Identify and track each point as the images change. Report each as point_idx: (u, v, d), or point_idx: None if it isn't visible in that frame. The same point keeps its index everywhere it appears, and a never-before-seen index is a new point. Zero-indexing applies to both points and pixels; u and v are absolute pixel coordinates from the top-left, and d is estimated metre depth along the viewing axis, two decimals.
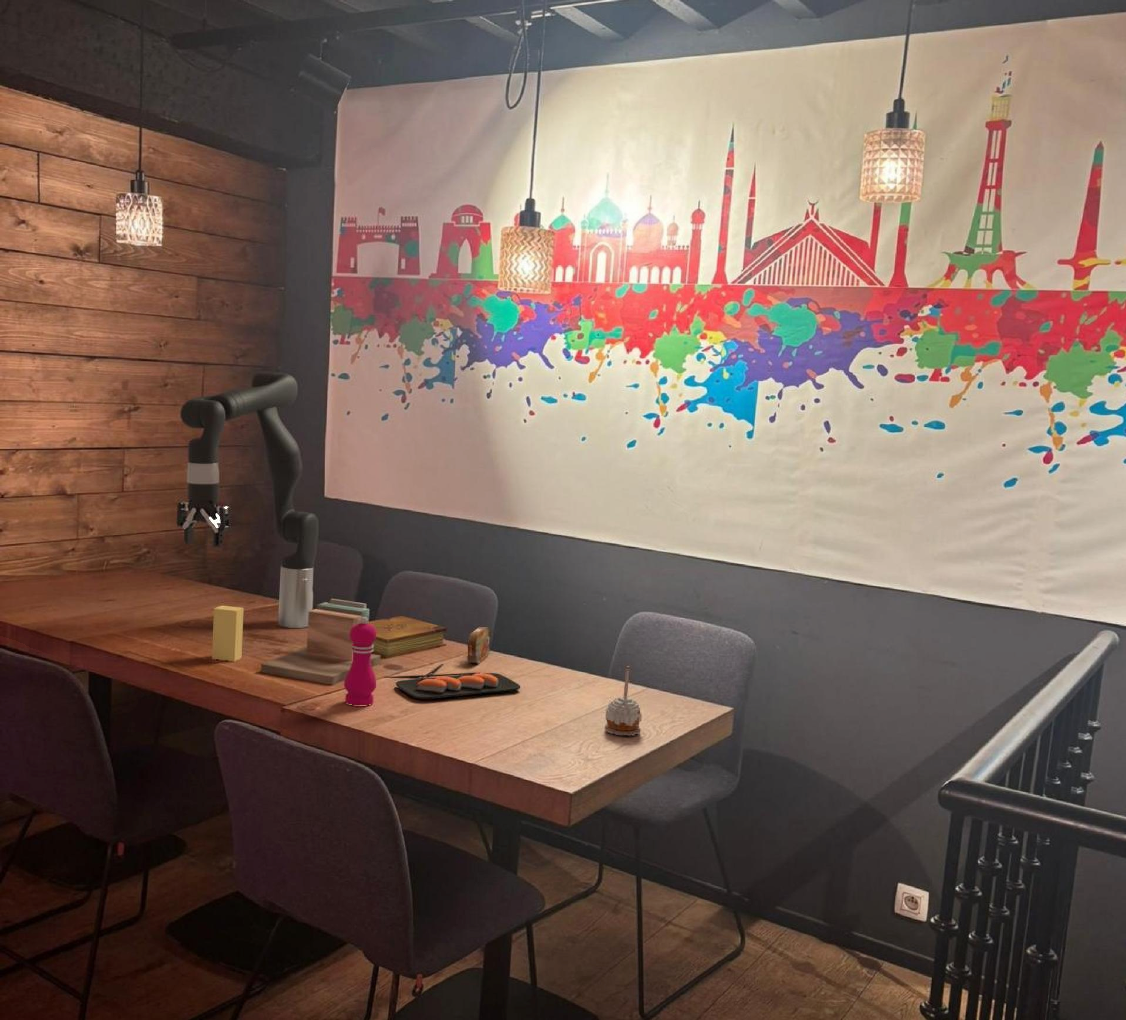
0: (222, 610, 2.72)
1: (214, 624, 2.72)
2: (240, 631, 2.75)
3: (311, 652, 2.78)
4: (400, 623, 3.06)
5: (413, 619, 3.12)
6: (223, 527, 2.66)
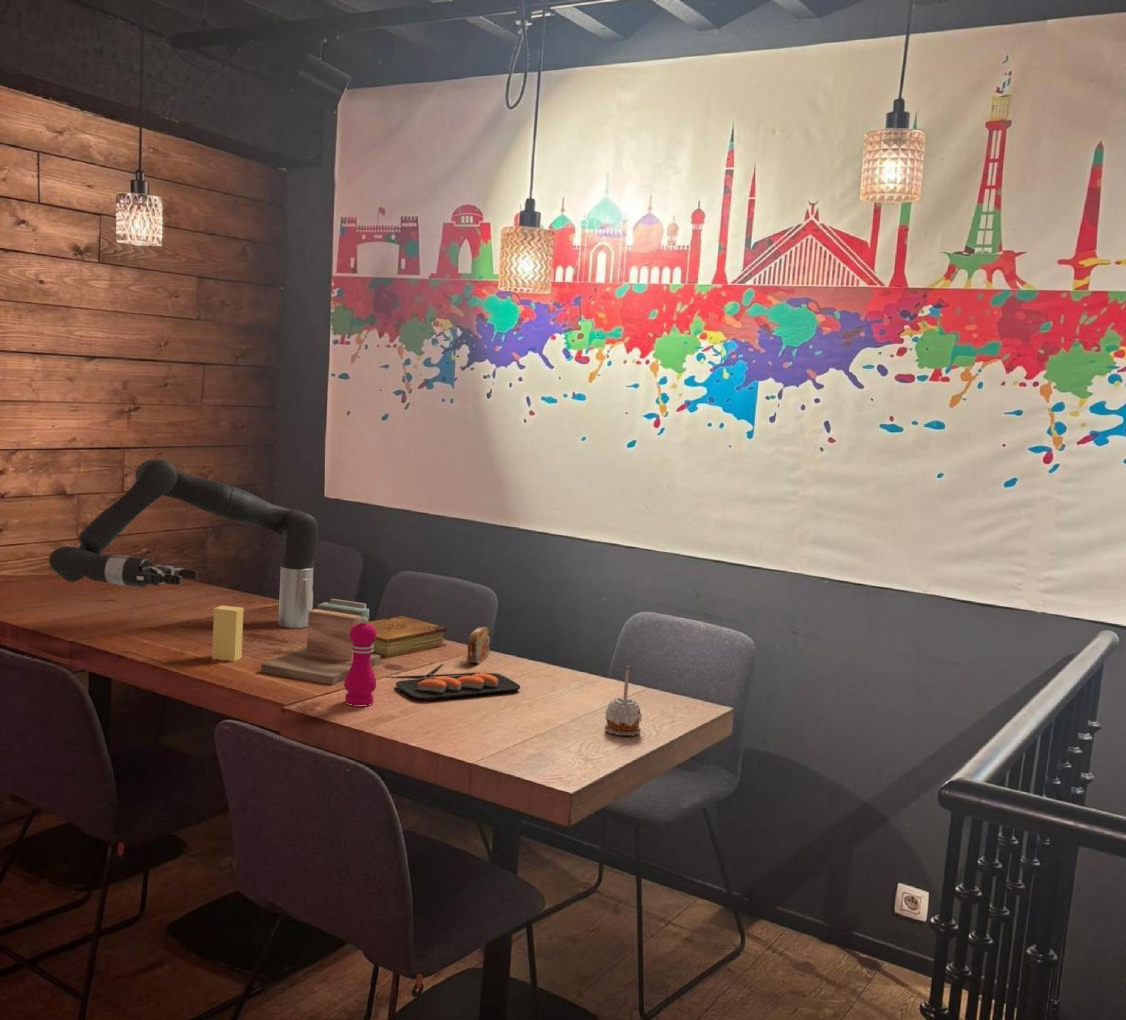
0: (222, 610, 2.72)
1: (214, 624, 2.72)
2: (240, 631, 2.75)
3: (311, 652, 2.78)
4: (400, 623, 3.06)
5: (413, 619, 3.12)
6: None
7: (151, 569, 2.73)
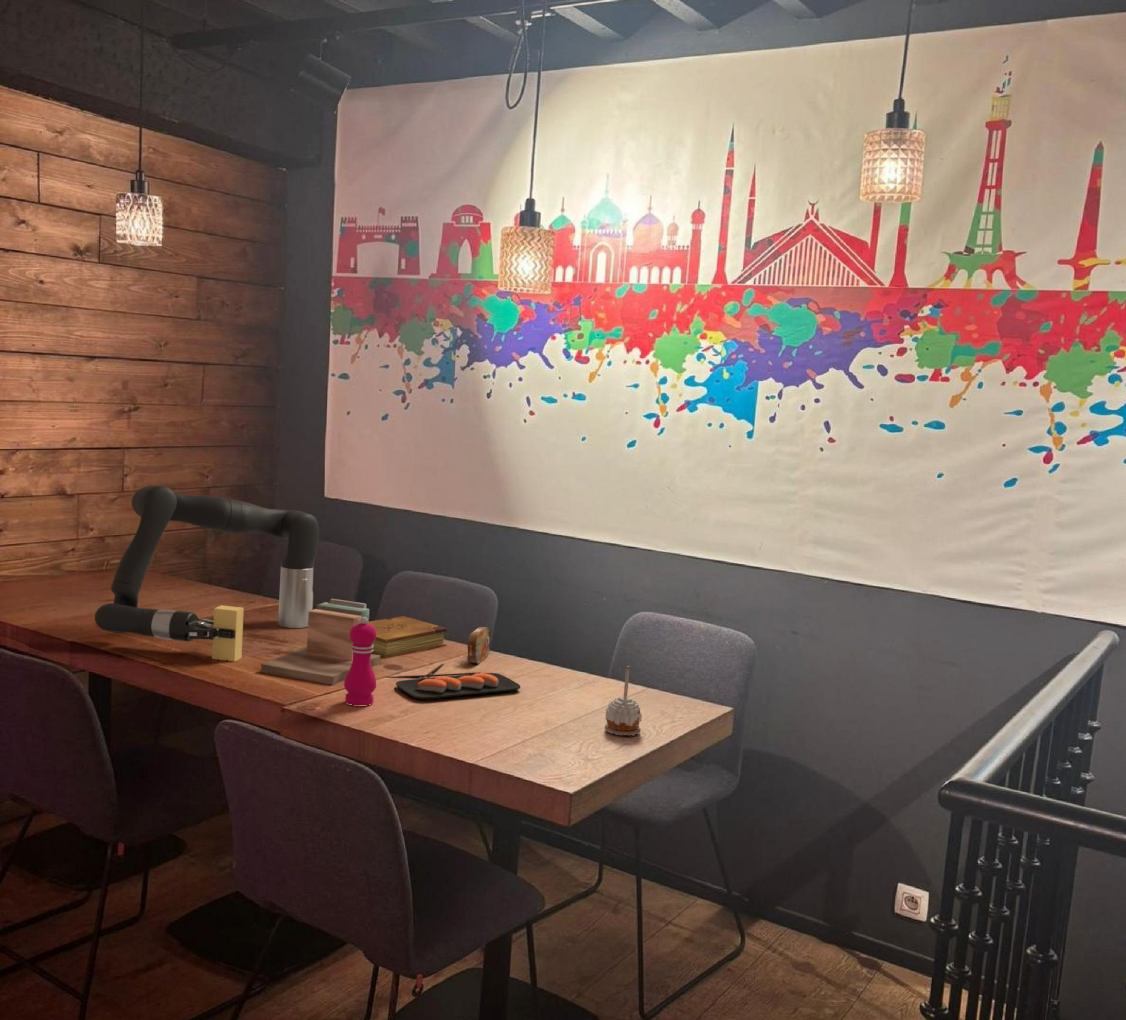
0: (222, 610, 2.72)
1: (214, 624, 2.72)
2: (240, 631, 2.75)
3: (311, 652, 2.78)
4: (401, 623, 3.06)
5: (414, 619, 3.12)
6: (209, 638, 2.70)
7: (199, 624, 2.73)
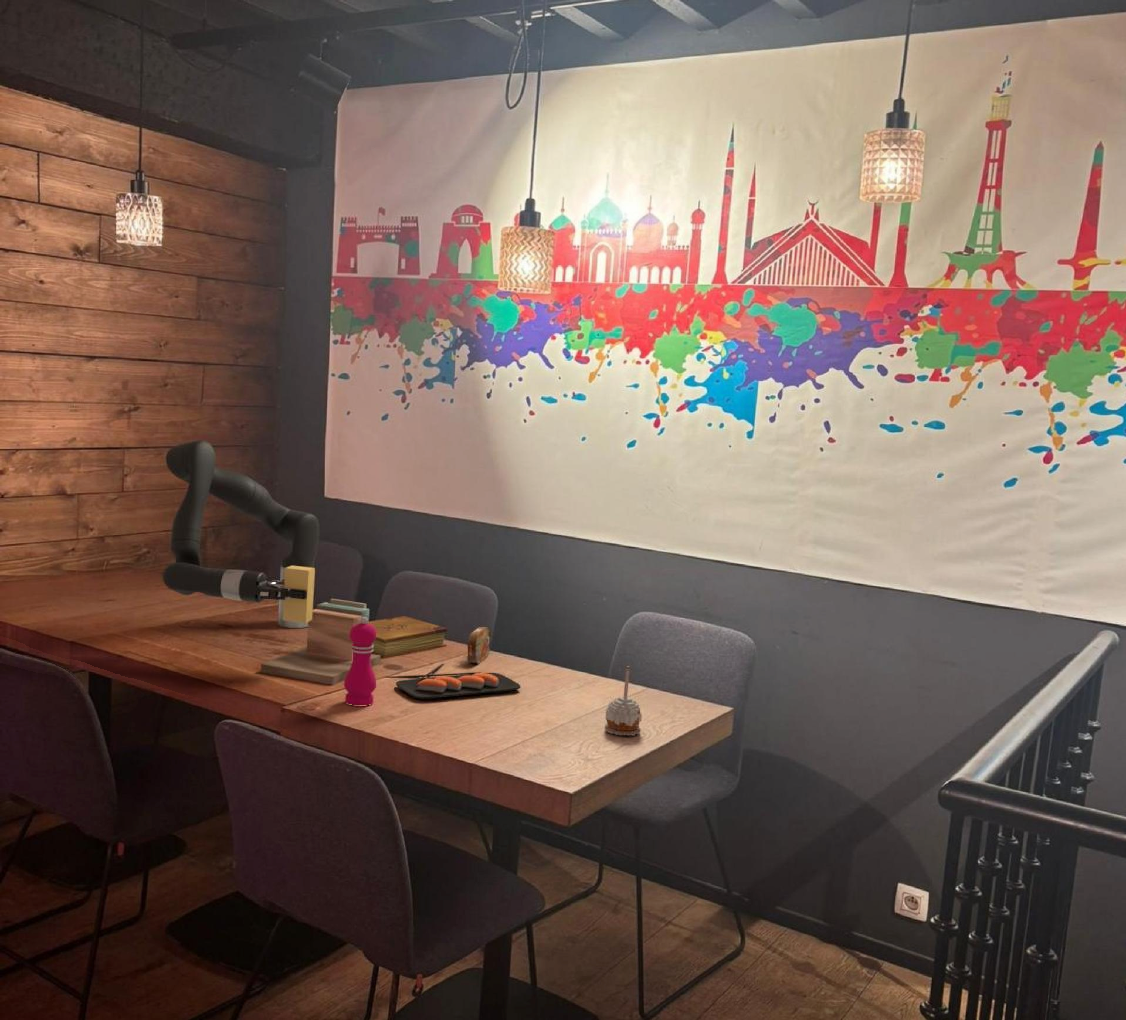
0: (294, 570, 2.64)
1: (285, 584, 2.65)
2: (312, 592, 2.67)
3: (311, 652, 2.78)
4: (401, 623, 3.06)
5: (415, 619, 3.12)
6: None
7: (270, 584, 2.65)
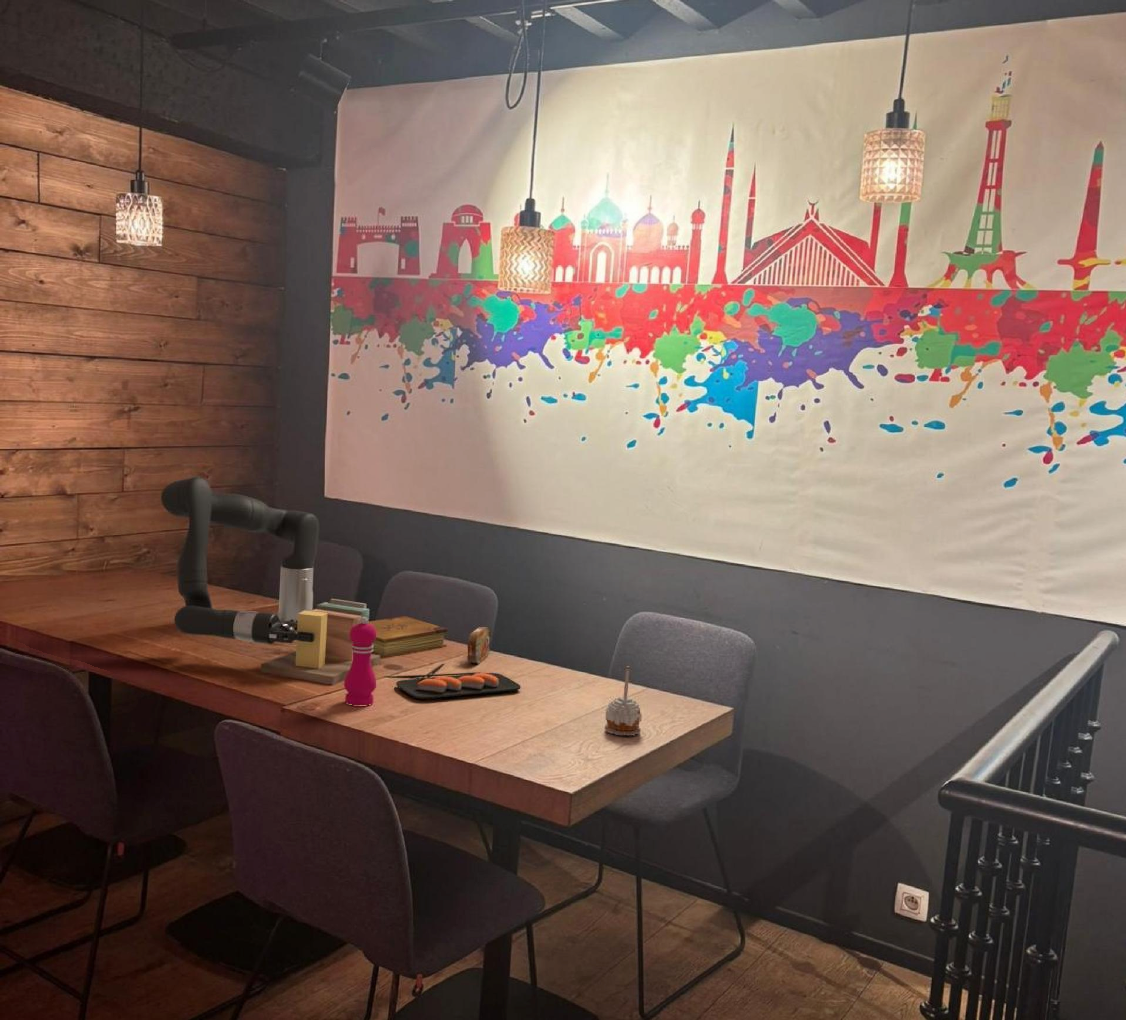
0: (306, 615, 2.64)
1: (298, 630, 2.65)
2: (324, 637, 2.67)
3: None
4: (401, 623, 3.06)
5: None
6: None
7: (281, 626, 2.65)
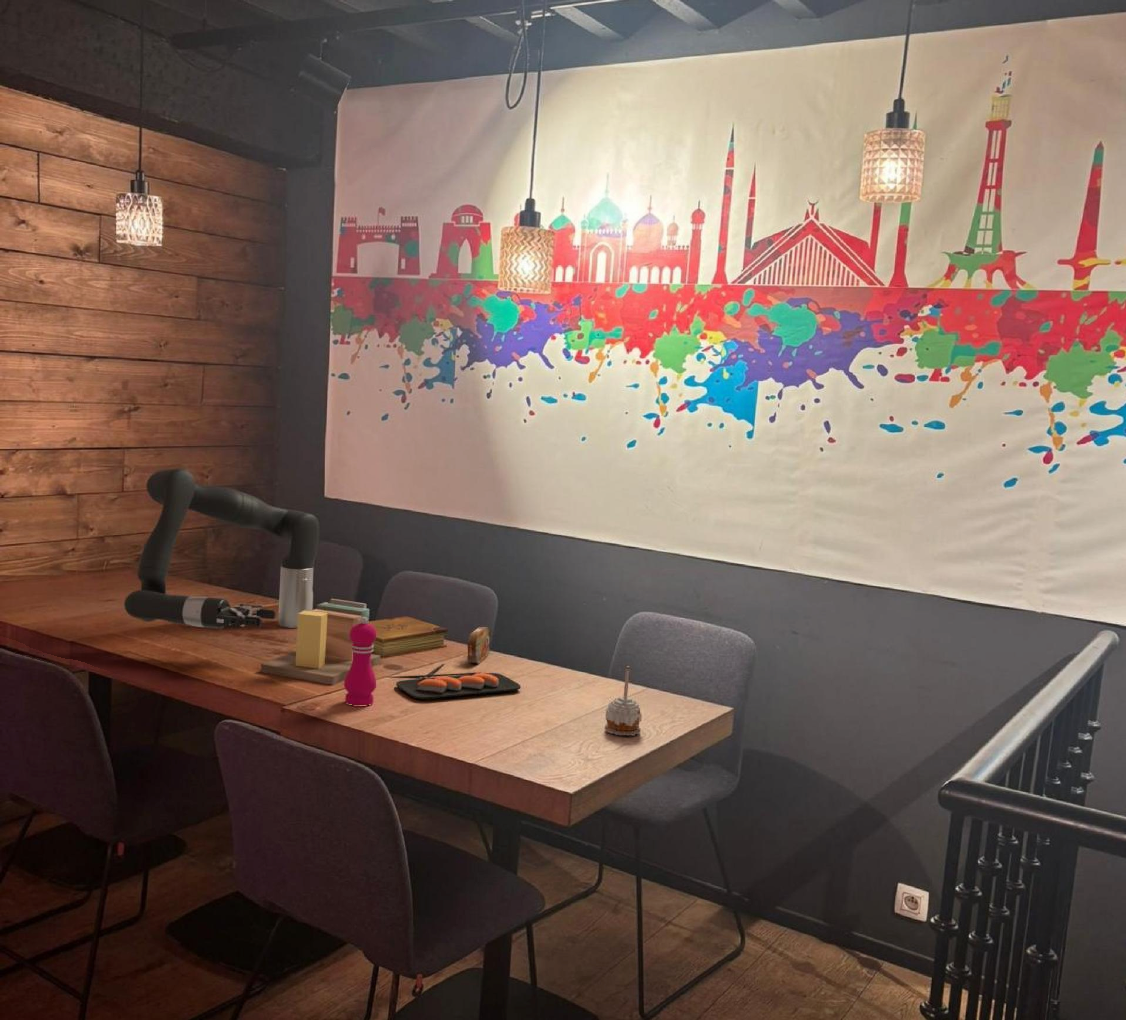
0: (306, 615, 2.64)
1: (298, 630, 2.65)
2: (324, 637, 2.67)
3: None
4: (402, 623, 3.06)
5: (416, 620, 3.11)
6: (235, 627, 2.62)
7: (230, 610, 2.67)
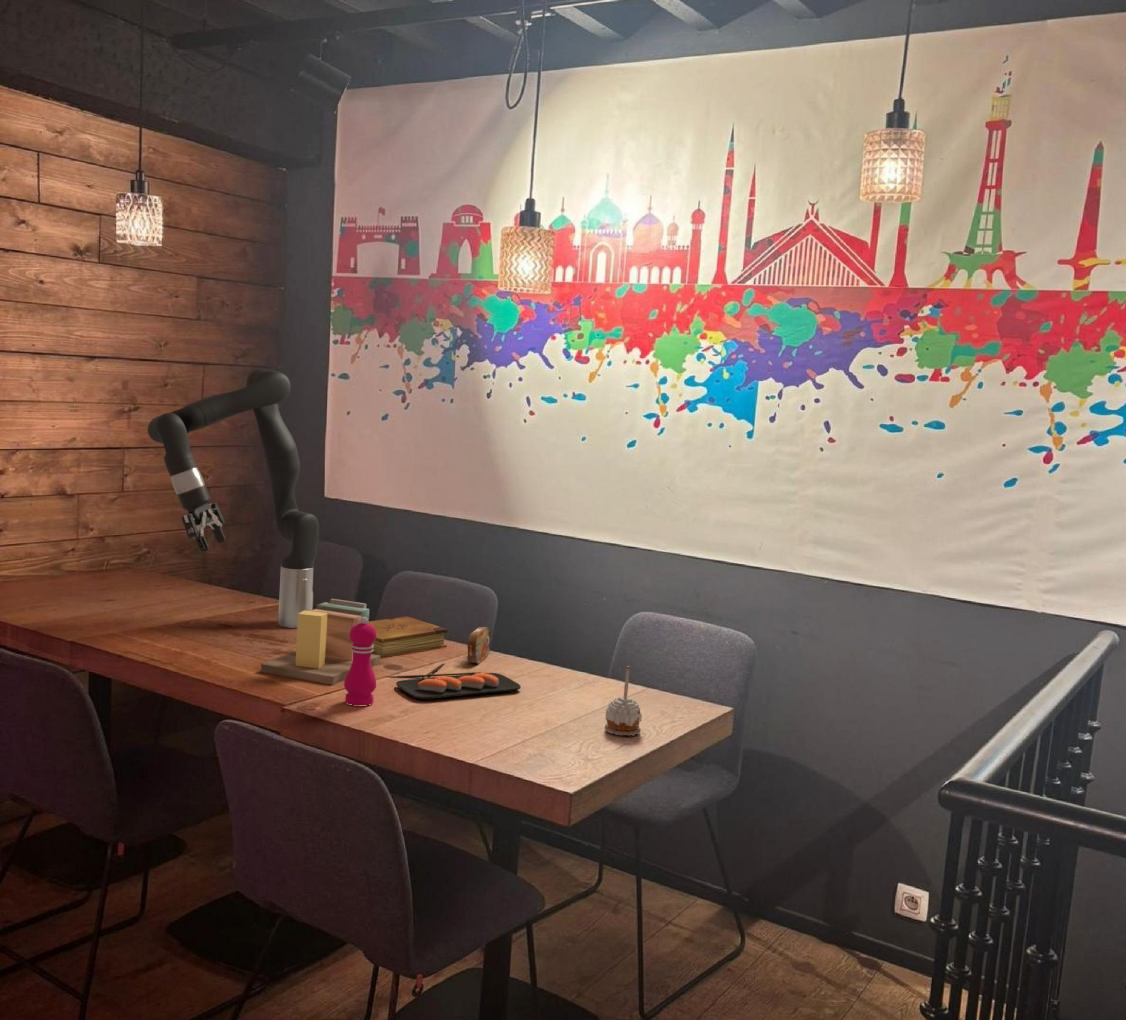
0: (306, 615, 2.64)
1: (298, 630, 2.65)
2: (324, 637, 2.67)
3: None
4: (402, 623, 3.06)
5: (417, 620, 3.11)
6: None
7: (201, 514, 2.79)
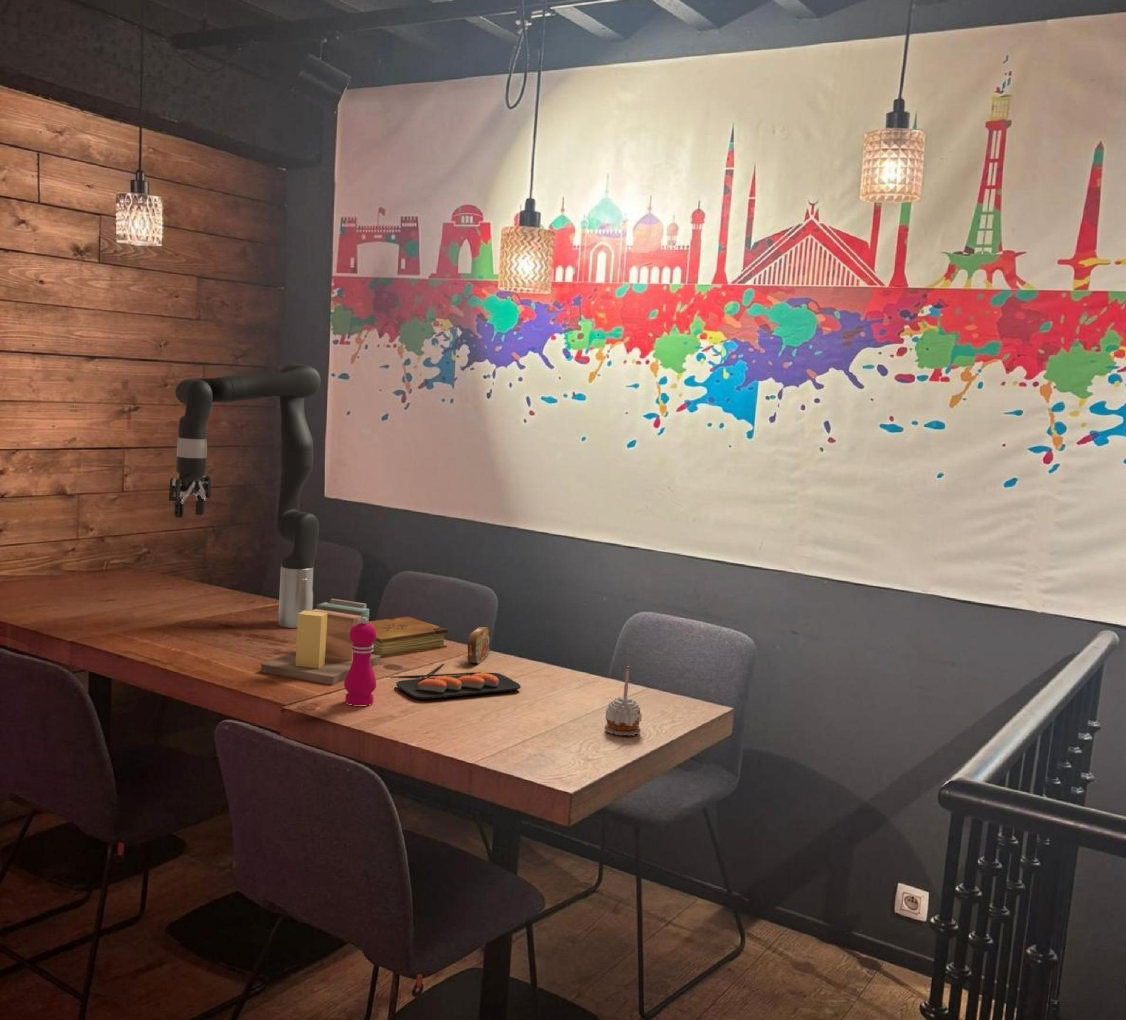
0: (306, 615, 2.64)
1: (298, 630, 2.65)
2: (324, 637, 2.67)
3: None
4: (402, 623, 3.05)
5: (417, 620, 3.11)
6: None
7: (190, 483, 2.85)
